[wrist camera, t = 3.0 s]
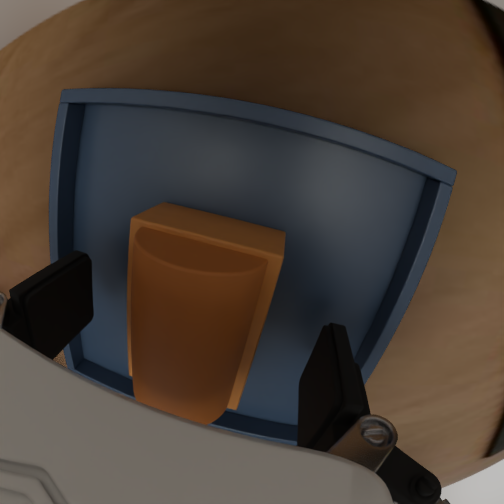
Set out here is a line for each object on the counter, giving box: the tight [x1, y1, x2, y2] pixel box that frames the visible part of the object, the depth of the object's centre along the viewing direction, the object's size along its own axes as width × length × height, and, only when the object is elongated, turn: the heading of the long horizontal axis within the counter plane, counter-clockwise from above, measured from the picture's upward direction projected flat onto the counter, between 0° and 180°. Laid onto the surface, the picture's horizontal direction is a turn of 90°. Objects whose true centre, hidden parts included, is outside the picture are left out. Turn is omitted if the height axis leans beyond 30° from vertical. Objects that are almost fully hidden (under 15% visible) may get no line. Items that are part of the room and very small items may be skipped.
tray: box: [49, 88, 457, 446], centre depth 12 cm, size 15×15×2 cm
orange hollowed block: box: [127, 202, 286, 425], centre depth 10 cm, size 7×5×4 cm
